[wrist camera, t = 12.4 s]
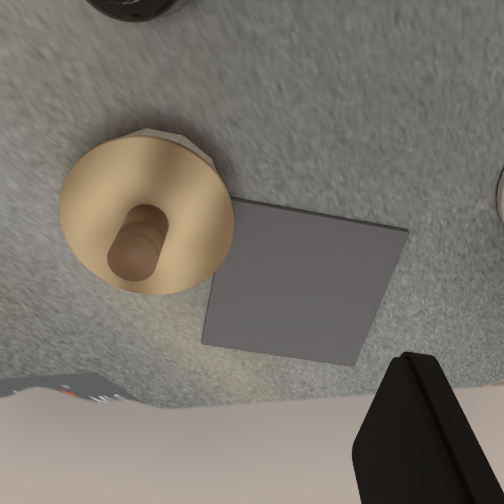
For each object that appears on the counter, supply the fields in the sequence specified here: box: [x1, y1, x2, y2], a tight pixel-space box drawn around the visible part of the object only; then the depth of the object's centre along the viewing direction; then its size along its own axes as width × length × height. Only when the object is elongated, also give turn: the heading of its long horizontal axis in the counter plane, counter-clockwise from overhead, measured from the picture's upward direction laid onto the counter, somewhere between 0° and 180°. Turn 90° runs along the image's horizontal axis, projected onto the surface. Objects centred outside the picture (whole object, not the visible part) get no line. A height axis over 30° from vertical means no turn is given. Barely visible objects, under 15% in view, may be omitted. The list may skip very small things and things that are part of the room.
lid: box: [59, 135, 234, 295], centre depth 34 cm, size 13×13×6 cm
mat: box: [201, 197, 409, 367], centre depth 45 cm, size 16×16×1 cm
